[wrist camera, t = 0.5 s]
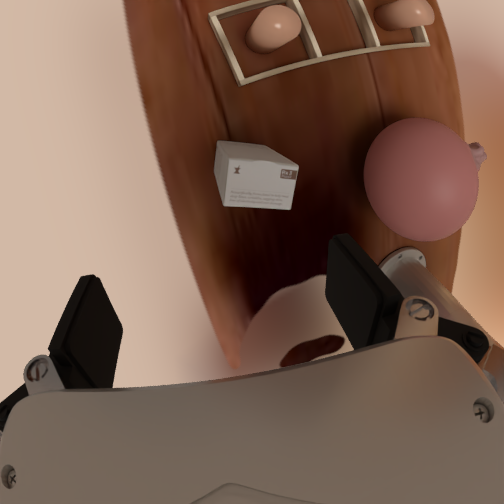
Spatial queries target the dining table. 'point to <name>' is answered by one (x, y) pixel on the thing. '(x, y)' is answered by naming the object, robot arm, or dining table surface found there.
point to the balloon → (422, 178)
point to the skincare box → (254, 176)
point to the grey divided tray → (295, 22)
